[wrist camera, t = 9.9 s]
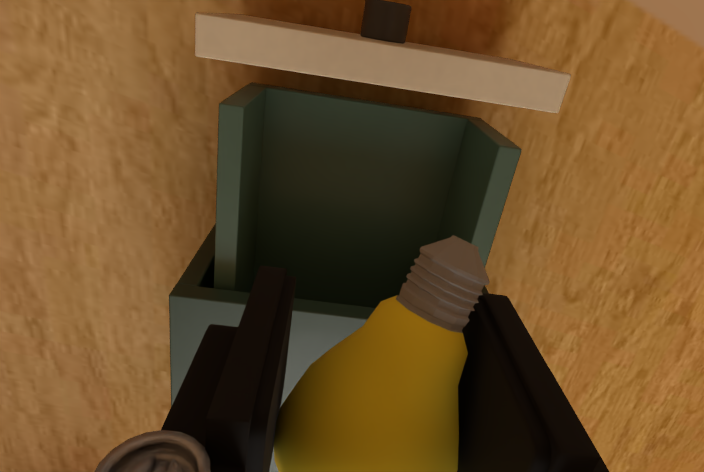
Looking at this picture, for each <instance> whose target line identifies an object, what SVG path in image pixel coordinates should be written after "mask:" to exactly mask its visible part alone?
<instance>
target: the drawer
mask: <svg viewBox="0 0 704 472" xmlns="http://www.w3.org/2000/svg"><path fill="white" fill-rule="evenodd" d="M410 13H411V6H409V5H405V4H400V3H395V2H389V1H383V0H365V7H364V14H363V20H362V27H361V34H356V33H350V32H344V31H338V30H332V29H326V28H320V27H314V26H308V25H302V24H296V23H290V22H284V21H278V20H272V19H265V18H259V17H253V16H247V15H241V14H223V13H196V14H195V55H196V56H198V57H204V58H210V59H217V60H223V61H229V62H236V63H242V64H248V65H255V66H261V67H267V68H274V69H280V70H286V71H293V72H299V73H305V74H312V75H318V76H324V77H331V78H337V79H343V80H350V81H356V82H362V83H369V84H375V85H381V86H388V87H394V88H400V89H407V90H413V91H419V92H426V93H432V94H438V95H445V96H451V97H457V98H464V99H470V100H476V101H483V102H489V103H495V104H502V105H508V106H514V107H521V108H527V109H533V110H540V111H546V112H552V113H558V112H559V110H560V107H561V104H562V101H563V98H564V95H565V92H566V89H567V86H568V83H569V80H570V77H571V74H568V73H564V72H560V71H556V70H552V69H548V68H544V67H540V66H536V65H532V64H528V63H524V62H520V61H516V60H512V59H507V58H501V57H495V56H489V55H483V54H477V53H471V52H465V51H459V50H453V49H447V48H441V47H435V46H428V45H422V44H416V43H410V42H405V40H406V35H407V29H408V24H409V18H410ZM520 154H521V148H519V147H518V146H517V145H515V144H514V143H513V142H511V141H510V140H509V139H507V138H506V137H505V136H503V135H502V134H501V133H499V132H498V131H497V130H495V129H494V128H493V127H491V126H490V125H489V124H487V123H486V122H485V121H483V120H482V119H481V118H478V117H471V116H465V115H458V114H452V113H446V112H439V111H433V110H426V109H420V108H413V107H407V106H400V105H394V104H388V103H381V102H375V101H368V100H362V99H355V98H349V97H342V96H336V95H330V94H323V93H317V92H310V91H304V90H297V89H291V88H285V87H278V86H272V85H265V84H259V83H250V84H248V85H246V86H245V87H243V88H242V89H240V90H239V91H237V92H236V93H234V94H233V95H231V96H230V97H228V98H227V99H225V100H224V101H222V102H221V103H219V124H218V160H217V196H216V232H215V268H214V289H223V290H231V291H239V292H247V293H250V292H251V289H252V287H253V284H254V281H255V278H256V275H257V272H258V270H259V267H260V266H261V265H262V266H270V267H278V268H286V269H287V276H294V277H296V285H295V294H294V298H296V299H304V300H313V301H321V302H329V303H337V304H345V305H354V306H362V307H370V308H376V307H377V306H378V304H379V303H380V302H381V301H383V300H386V299H388V298H391V297H394V296H396V295H399V294H400V291H401V288H402V284H403V283H406V282H407V280H408V279H407V277H406V276H407V274H409V273H411V272H412V271H411V269H410V268H411V266H415V264H416V263H415V262H414V259H416V258H419V256H420V254H421V253H420V248H421V247H422V246H425V245H428V244H431V243H434V242H437V241H441V240H444V239H447V238H450V237H451V236H452V235H454V236H456V237H458V238H460V239H462V240H464V241H467V242H469V243H471V244H473V245H475V246H477V247H479V248H478V252H479V255H480V257H481V260H482V263H483V266H484V268H485V265H486V262H487V259H488V256H489V252H490V249H491V246H492V243H493V240H494V236H495V233H496V230H497V227H498V224H499V221H500V217H501V214H502V211H503V208H504V205H505V201H506V198H507V195H508V192H509V189H510V186H511V182H512V179H513V176H514V173H515V170H516V166H517V163H518V160H519V157H520Z"/></svg>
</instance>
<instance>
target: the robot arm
mask: <svg viewBox="0 0 704 472" xmlns="http://www.w3.org/2000/svg"><path fill="white" fill-rule="evenodd" d="M295 285H296V277H294V276H287V269H286V268H278V267H270V266H262V265H261V266H260V267H259V270H258V272H257V275H256V278H255V281H254V284H253V287H252V289H251V292H250V295H249V298H248V301H247V304H246V306H245V309H244V312H243V315H242V318H241V321H240V323H239V326H238V327H233V326H225V325H216V324H211V325H209V326H208V328H207V330H206V332H205V334H204V336H203V338H202V341H201V343H200V345H199V347H198V349H197V352H196V354H195V356H194V358H193V361H192V363H191V365H190V367H189V369H188V372H187V374H186V376H185V378H184V380H183V383H182V385H181V387H180V389H179V391H178V394H177V396H176V398H175V400H174V403H173V405H172V407H171V409H170V411H169V414H168V416H167V418H166V420H165V422H164V425H163V427H162V429H161V430H160V431H153V432H146V433H143V434H141V435H138V436H135V437H133V438H130V439H128V440H126V441H125V442H123V443H122V444H120V445H119V446H117V447H115V448H114V449H112V451H111V452H110V453H109V454H108V455H107V456H106V457H105V458H104V459H103V460H102V461H101V462H100V463H99V465H98V466H97V468H96V470H95V472H269V471H270V465H271V459H272V453H273V447H274V436H275V429H276V422H277V418H278V414H279V411H280V407H281V401H282V395H283V388H284V381H285V373H286V364H287V355H288V347H289V338H290V329H291V320H292V311H293V302H294V294H295ZM482 294H483V295H479V296H478V298H477V300H478V302H479V303H475V304H474V306H473V308H474V310H475V311H471V312H470V314H469V316H468V318H469V322H468V323H467V324H466V326H465V327H463V329H462V332H463V336H464V340H465V344H466V347H467V351H468V355H467V358H466V361H465V365H464V368H463V371H462V374H461V378H460V381H459V384H458V414H459V446H458V470H457V472H609V471H608V469H607V467H606V465H605V464H604V462H603V460H602V458H601V457H600V455H599V453H598V452H597V450H596V448H595V446H594V445H593V443H592V441H591V439H590V438H589V436H588V434H587V433H586V431H585V429H584V427H583V426H582V424H581V422H580V420H579V419H578V417H577V415H576V414H575V412H574V410H573V408H572V407H571V405H570V403H569V401H568V400H567V398H566V396H565V395H564V393H563V391H562V389H561V388H560V386H559V384H558V382H557V381H556V379H555V377H554V376H553V374H552V372H551V370H550V369H549V367H548V366H547V364H546V362H545V361H544V359H543V357H542V355H541V354H540V352H539V350H538V348H537V347H536V345H535V343H534V342H533V340H532V338H531V336H530V335H529V333H528V331H527V329H526V328H525V326H524V324H523V322H522V321H521V319H520V317H519V316H518V314H517V312H516V310H515V309H514V307H513V305H512V303H511V302H510V300H509V298H508V297H507V296H503V295H495V294H487V293H482Z"/></svg>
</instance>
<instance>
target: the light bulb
mask: <svg viewBox="0 0 704 472" xmlns="http://www.w3.org/2000/svg"><path fill="white" fill-rule="evenodd" d="M478 248H479V247H477V246H475V245H473V244H471V243H469V242H467V241H464V240H462V239H460V238H458V237H456V236H454V235H452V236H451V237H450V238H447V239H444V240H441V241H437V242H434V243H431V244H428V245H425V246H422V247H421V248H420V253H421V254H420V256H419V258H416V259H414V262H415V263H416V264H415V266H411V268H410V269H411V271H412V272H411V273H409V274H407V276H406V277H407V279H408V280H407V282H406V283H403V284H402V288H401V291H400V294H399V295H396V296H394V297H391V298H388V299H386V300H383V301H381V302H380V303H379V304H378V306H377V307H376V309H375V310H374V311H373V313H372V314H371V315H370V317H369V318H368V320H367V321H366V322H365V324H364V325H363V326H362V327H361V328H359V329H358V330H356V331H355V332H354V333H352V334H351V335H349V336H348V337H346V338H345V339H344V340H342V341H341V342H339V343H338V344H336V345H335V346H334V347H332V348H331V349H330V350H328V351H327V352H326V353H325V354H323V355H322V356H321V357H320V358H318V359H317V360H316V361H315V362H313V363H312V364H311V365H310V366H309V368H308V369H307V370H306V372H305V373H304V374H303V376H302V377H301V378H300V380H299V381H298V382H297V384H296V385H295V387H294V388H293V390H292V391H291V393H290V394H289V395H288V397H287V398H286V400H285V401H284V403H283V404H282V406H281V407H280V411H279V414H278V418H277V422H276V429H275V436H274V460H275V463H276V466H277V468H278V471H279V472H457V470H458V446H459V414H458V384H459V381H460V378H461V374H462V371H463V368H464V365H465V361H466V358H467V355H468V351H467V347H466V344H465V340H464V336H463V332H462V329H463V327H465V326H466V324H467V323H468V322H469V318H468V316H469V314H470V312H471V311H475V310H474V308H473V306H474V304H475V303H479V302H478V300H477V298H478V296H479V295H483V294H482V289H483V287H484V285H488V284H489V279H488V276H487V274H486V271H485V268H484V266H483V263H482V260H481V257H480V255H479V252H478Z"/></svg>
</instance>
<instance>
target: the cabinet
mask: <svg viewBox="0 0 704 472" xmlns="http://www.w3.org/2000/svg"><path fill="white" fill-rule="evenodd" d="M215 232H216V224H215V225H214V227H213V228H212V230H211V231H210V233H209V234H208V236H207V238H206V239H205V241H204V242H203V244H202V245H201V247H200V248H199V250H198V252H197V253H196V255H195V256H194V258H193V259H192V261H191V263H190V264H189V266H188V267H187V269H186V270H185V272H184V273H183V275H182V277H181V278H180V280H179V281H178V283H177V284H176V285H175V287H174V288H173V290H172V291H171V293H170V295H169V316H170V364H171V407H172V405H173V403H174V400H175V398H176V396H177V394H178V391H179V389H180V387H181V385H182V383H183V380H184V378H185V376H186V374H187V372H188V369H189V367H190V365H191V363H192V361H193V358H194V356H195V354H196V352H197V349H198V347H199V345H200V343H201V341H202V338H203V336H204V334H205V332H206V330H207V328H208V326H209V325H211V324H216V325H225V326H233V327H238V326H239V323H240V321H241V318H242V315H243V312H244V309H245V306H246V304H247V301H248V298H249V295H250V293H247V292H239V291H231V290H223V289H214V268H215ZM482 293H487V294H489V293H488V291H487V289H486V287H485V285H484V287H483V289H482ZM375 309H376V308H370V307H362V306H354V305H345V304H337V303H329V302H321V301H313V300H304V299H296V298H294V302H293V311H292V320H291V329H290V338H289V347H288V355H287V364H286V373H285V381H284V388H283V395H282V401H281V406H282V404H283V403H284V401H285V400H286V398H287V397H288V395H289V394H290V393H291V391H292V390H293V388H294V387H295V385H296V384H297V382H298V381H299V380H300V378H301V377H302V376H303V374H304V373H305V372H306V370H307V369H308V368H309V366H310V365H311V364H312V363H313V362H315V361H316V360H317V359H318V358H320V357H321V356H322V355H323V354H325V353H326V352H327V351H328V350H330V349H331V348H332V347H334V346H335V345H336V344H338V343H339V342H341V341H342V340H344V339H345V338H346V337H348V336H349V335H351V334H352V333H354V332H355V331H356V330H358V329H359V328H361V327H362V326H363V325H364V324H365V322H366V321H367V320H368V318H369V317H370V315H371V314H372V313H373V311H374V310H375ZM269 472H279V471H278V468H277V466H276V463H275V460H274V447H273V453H272V459H271V465H270V471H269Z"/></svg>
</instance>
